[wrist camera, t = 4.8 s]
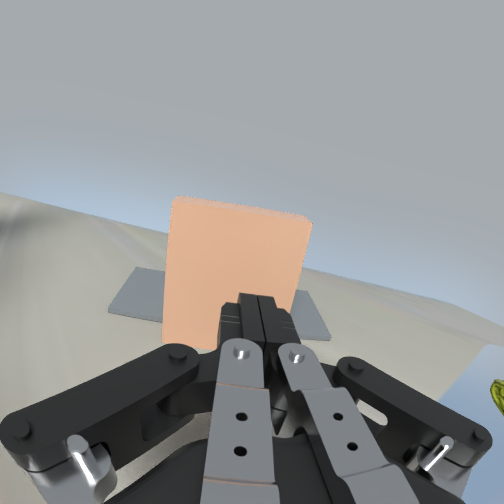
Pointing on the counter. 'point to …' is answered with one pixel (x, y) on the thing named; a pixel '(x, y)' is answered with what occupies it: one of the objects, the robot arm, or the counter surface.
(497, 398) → the dish towel
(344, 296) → the counter surface
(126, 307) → the mat
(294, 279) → the tile
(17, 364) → the counter surface
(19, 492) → the counter surface
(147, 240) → the counter surface
